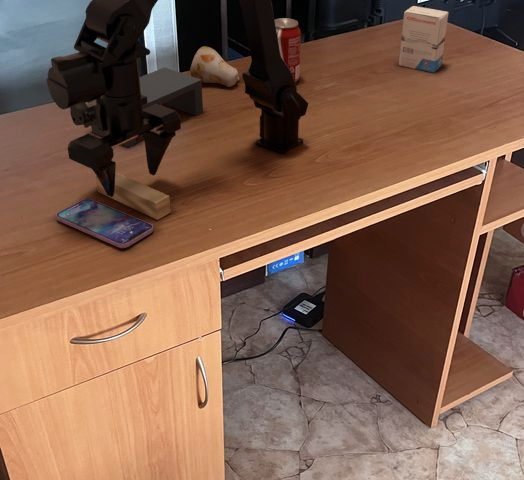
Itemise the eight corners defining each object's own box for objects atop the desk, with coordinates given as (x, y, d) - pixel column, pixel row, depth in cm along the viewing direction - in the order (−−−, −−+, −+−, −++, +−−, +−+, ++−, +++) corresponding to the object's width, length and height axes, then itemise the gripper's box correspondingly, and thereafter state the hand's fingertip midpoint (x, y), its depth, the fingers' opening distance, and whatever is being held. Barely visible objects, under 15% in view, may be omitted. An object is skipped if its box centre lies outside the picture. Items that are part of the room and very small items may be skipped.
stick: (170, 212, 126) (169, 195, 124) (157, 220, 124) (155, 203, 122) (111, 185, 132) (109, 168, 130) (97, 191, 131) (95, 175, 129)
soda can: (304, 77, 169) (306, 20, 161) (291, 88, 164) (293, 30, 156) (275, 72, 171) (276, 15, 163) (262, 83, 166) (262, 25, 158)
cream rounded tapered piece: (233, 94, 162) (207, 52, 157) (202, 104, 169) (176, 63, 163) (251, 74, 166) (226, 31, 160) (220, 84, 172) (195, 43, 167)
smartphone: (87, 197, 127) (156, 225, 121) (87, 202, 128) (156, 231, 121) (52, 214, 123) (122, 245, 116) (53, 220, 123) (123, 251, 117)
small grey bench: (203, 112, 155) (201, 79, 150) (128, 147, 143) (124, 113, 139) (166, 99, 160) (164, 67, 155) (91, 132, 148) (87, 98, 143)
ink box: (442, 66, 174) (450, 11, 166) (433, 73, 171) (441, 17, 163) (406, 58, 177) (413, 4, 170) (397, 65, 174) (403, 10, 167)
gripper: (129, 59, 125) (139, 150, 135) (35, 95, 114) (53, 191, 124) (180, 76, 120) (186, 169, 130) (86, 116, 109) (100, 214, 119)
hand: (131, 184), depth 126 cm, fingers open, 9 cm apart
